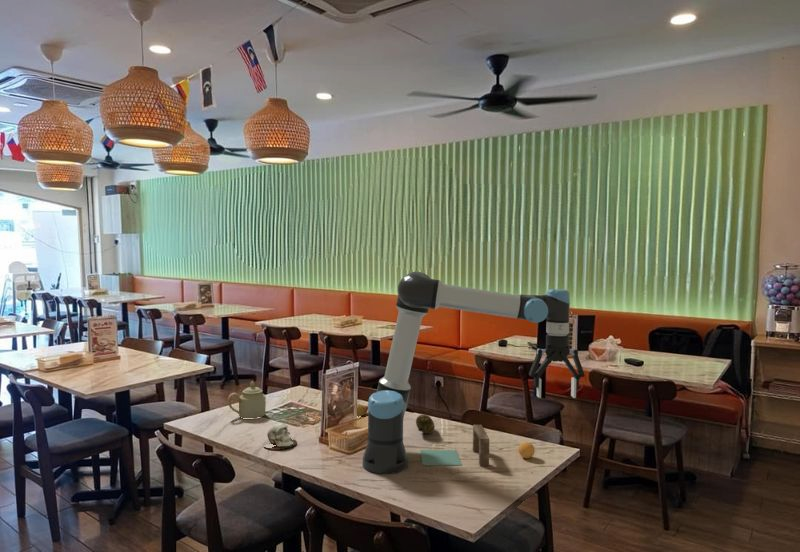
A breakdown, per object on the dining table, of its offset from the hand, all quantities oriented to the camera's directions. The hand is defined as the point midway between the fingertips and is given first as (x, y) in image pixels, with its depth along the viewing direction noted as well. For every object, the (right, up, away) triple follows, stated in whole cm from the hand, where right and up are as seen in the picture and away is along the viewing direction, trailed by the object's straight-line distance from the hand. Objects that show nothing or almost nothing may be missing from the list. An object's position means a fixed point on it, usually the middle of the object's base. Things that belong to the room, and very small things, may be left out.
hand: (556, 396), depth 182 cm
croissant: (-75, -19, +42) cm, 89 cm away
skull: (-98, -20, +10) cm, 101 cm away
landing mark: (-40, -21, 0) cm, 45 cm away
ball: (-10, -18, 0) cm, 21 cm away
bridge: (-26, -21, 0) cm, 34 cm away
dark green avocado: (-44, -20, +25) cm, 54 cm away
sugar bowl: (-118, -18, +42) cm, 127 cm away
